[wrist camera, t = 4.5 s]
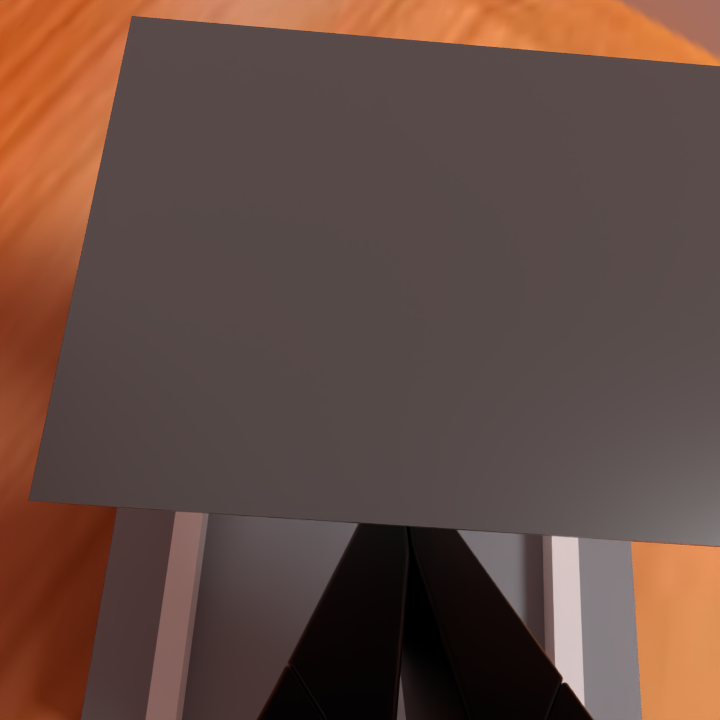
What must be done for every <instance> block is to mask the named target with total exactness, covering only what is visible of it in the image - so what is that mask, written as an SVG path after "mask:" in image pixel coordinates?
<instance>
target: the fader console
mask: <svg viewBox="0 0 720 720" xmlns="http://www.w3.org/2000/svg"><path fill="white" fill-rule="evenodd" d="M357 525H358V523H344V522H329V521H313V520H298V519H283V518H268V517H252V516H237V515H222V514H206V513H191V512H176V511H161V510H145V509H130V508H117V511H116V517H115V523H114V529H113V535H112V541H111V546H110V552H109V558H108V564H107V570H106V575H105V581H104V587H103V593H102V599H101V604H100V610H99V616H98V622H97V628H96V633H95V639H94V645H93V651H92V657H91V662H90V668H89V674H88V680H87V686H86V691H85V697H84V703H83V709H82V715H81V720H256V719H257V717H258V716H259V714H260V712H261V710H262V708H263V707H264V705H265V703H266V701H267V699H268V698H269V696H270V694H271V692H272V690H273V688H274V686H275V684H276V683H277V681H278V679H279V677H280V675H281V673H282V671H283V669H284V667H285V666H287V663H288V660H289V658H290V656H291V654H292V652H293V650H294V648H295V646H296V644H297V642H298V640H299V638H300V636H301V634H302V633H303V631H304V629H305V627H306V625H307V623H308V621H309V619H310V617H311V615H312V613H313V611H314V609H315V607H316V605H317V603H318V601H319V599H320V597H321V595H322V593H323V592H324V590H325V588H326V586H327V584H328V582H329V580H330V578H331V576H332V574H333V572H334V570H335V568H336V566H337V564H338V562H339V560H340V558H341V556H342V554H343V552H344V550H345V549H346V547H347V545H348V543H349V541H350V539H351V537H352V535H353V533H354V531H355V529H356V527H357ZM458 532H459V533H460V535H461V536H462V537H463V539H464V540H465V542H466V543H467V544H468V546H469V547H470V549H471V550H472V551H473V553H474V554H475V556H476V557H477V558H478V560H479V561H480V562H481V564H482V565H483V567H484V568H485V569H486V571H487V572H488V574H489V575H490V576H491V578H492V579H493V581H494V582H495V583H496V585H497V586H498V588H499V589H500V590H501V592H502V593H503V594H504V596H505V597H506V599H507V600H508V601H509V603H510V604H511V606H512V607H513V608H514V610H515V611H516V613H517V614H518V615H519V617H520V618H521V620H522V621H523V622H524V624H525V625H526V626H527V628H528V629H529V631H530V632H531V633H532V635H533V636H534V638H535V639H536V640H537V642H538V643H539V645H540V646H541V647H542V649H543V650H544V652H545V653H546V654H547V656H548V657H549V658H550V660H551V661H552V663H553V664H554V665H555V667H556V668H557V670H558V671H559V672H560V674H561V675H562V677H563V681H562V683H563V682H566V683H568V685H569V686H570V687H571V689H572V690H573V692H574V693H575V694H576V696H577V697H578V699H579V700H580V701H581V703H582V704H583V706H584V707H585V708H586V710H587V711H588V712H589V714H590V715H591V716H592V718H593V719H594V720H642V713H641V697H640V680H639V664H638V648H637V632H636V616H635V600H634V584H633V568H632V552H631V541H619V540H603V539H588V538H573V537H558V536H542V535H527V534H512V533H496V532H481V531H466V530H458ZM397 720H406V715H405V707H404V699H403V690H402V682H401V676H400V688H399V700H398V712H397Z"/></svg>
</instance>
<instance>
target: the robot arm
mask: <svg viewBox="0 0 720 720" xmlns="http://www.w3.org/2000/svg"><path fill="white" fill-rule="evenodd" d="M400 676H401V682H402V690H403V699H404V707H405V715H406V720H594V719H593V718H592V716H591V715H590V714H589V712H588V711H587V710H586V708H585V707H584V706H583V704H582V703H581V701H580V700H579V699H578V697H577V696H576V694H575V693H574V692H573V690H572V689H571V687H570V686H569V685H568V683H566V682H563V683H562V681H563V677H562V675H561V674H560V672H559V671H558V670H557V668H556V667H555V665H554V664H553V663H552V661H551V660H550V658H549V657H548V656H547V654H546V653H545V652H544V650H543V649H542V647H541V646H540V645H539V643H538V642H537V640H536V639H535V638H534V636H533V635H532V633H531V632H530V631H529V629H528V628H527V626H526V625H525V624H524V622H523V621H522V620H521V618H520V617H519V615H518V614H517V613H516V611H515V610H514V608H513V607H512V606H511V604H510V603H509V601H508V600H507V599H506V597H505V596H504V594H503V593H502V592H501V590H500V589H499V588H498V586H497V585H496V583H495V582H494V581H493V579H492V578H491V576H490V575H489V574H488V572H487V571H486V569H485V568H484V567H483V565H482V564H481V562H480V561H479V560H478V558H477V557H476V556H475V554H474V553H473V551H472V550H471V549H470V547H469V546H468V544H467V543H466V542H465V540H464V539H463V537H462V536H461V535H460V533H459V532H458V530H451V529H435V528H420V527H405V526H390V525H374V524H359V523H358V525H357V527H356V529H355V531H354V533H353V535H352V537H351V539H350V541H349V543H348V545H347V547H346V549H345V550H344V552H343V554H342V556H341V558H340V560H339V562H338V564H337V566H336V568H335V570H334V572H333V574H332V576H331V578H330V580H329V582H328V584H327V586H326V588H325V590H324V592H323V593H322V595H321V597H320V599H319V601H318V603H317V605H316V607H315V609H314V611H313V613H312V615H311V617H310V619H309V621H308V623H307V625H306V627H305V629H304V631H303V633H302V634H301V636H300V638H299V640H298V642H297V644H296V646H295V648H294V650H293V652H292V654H291V656H290V658H289V660H288V663H287V666H285V667H284V669H283V671H282V673H281V675H280V677H279V679H278V681H277V683H276V684H275V686H274V688H273V690H272V692H271V694H270V696H269V698H268V699H267V701H266V703H265V705H264V707H263V708H262V710H261V712H260V714H259V716H258V717H257V719H256V720H397V712H398V700H399V688H400Z"/></svg>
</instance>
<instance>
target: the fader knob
mask: <svg viewBox="0 0 720 720" xmlns="http://www.w3.org/2000/svg"><path fill="white" fill-rule="evenodd" d="M28 501H38V502H51V503H65V504H78V505H91V506H104V507H117V508H130V509H145V510H161V511H176V512H191V513H206V514H222V515H237V516H252V517H268V518H283V519H298V520H313V521H329V522H344V523H359V524H374V525H390V526H405V527H420V528H435V529H451V530H466V531H481V532H496V533H512V534H527V535H542V536H558V537H573V538H588V539H603V540H619V541H634V542H649V543H664V544H680V545H695V546H710V547H720V66H709V65H697V64H685V63H674V62H662V61H650V60H639V59H627V58H615V57H603V56H592V55H580V54H568V53H557V52H545V51H533V50H522V49H510V48H498V47H487V46H475V45H463V44H452V43H440V42H428V41H417V40H405V39H393V38H382V37H370V36H358V35H347V34H335V33H323V32H312V31H300V30H288V29H277V28H265V27H253V26H242V25H230V24H218V23H206V22H195V21H183V20H171V19H160V18H148V17H136V16H132V18H131V23H130V27H129V32H128V37H127V42H126V46H125V51H124V56H123V60H122V65H121V70H120V74H119V79H118V84H117V88H116V93H115V98H114V102H113V107H112V112H111V116H110V121H109V126H108V130H107V135H106V140H105V144H104V149H103V154H102V159H101V163H100V168H99V173H98V177H97V182H96V187H95V191H94V196H93V201H92V205H91V210H90V215H89V219H88V224H87V229H86V233H85V238H84V243H83V247H82V252H81V257H80V261H79V266H78V271H77V275H76V280H75V285H74V290H73V294H72V299H71V304H70V308H69V313H68V318H67V322H66V327H65V332H64V336H63V341H62V346H61V350H60V355H59V360H58V364H57V369H56V374H55V378H54V383H53V388H52V392H51V397H50V402H49V406H48V411H47V416H46V421H45V425H44V430H43V435H42V439H41V444H40V449H39V453H38V458H37V463H36V467H35V472H34V477H33V481H32V486H31V491H30V495H29V500H28Z"/></svg>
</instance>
